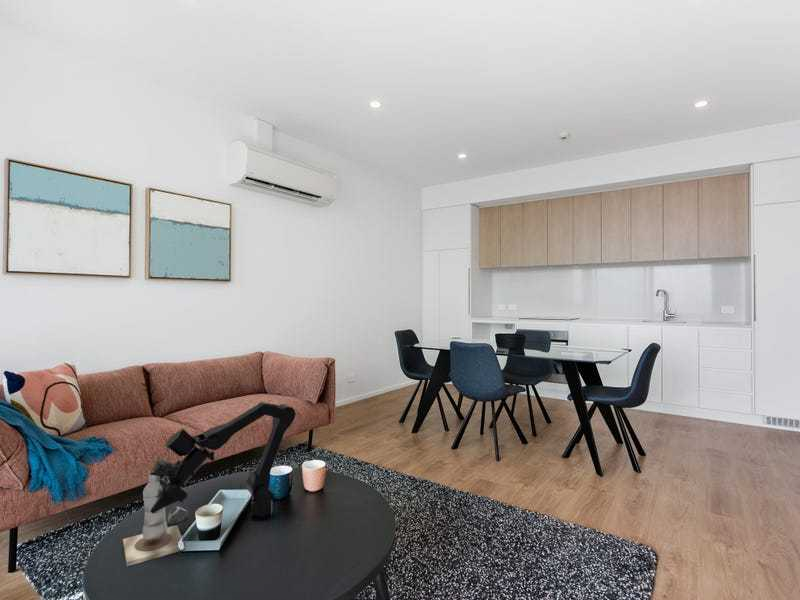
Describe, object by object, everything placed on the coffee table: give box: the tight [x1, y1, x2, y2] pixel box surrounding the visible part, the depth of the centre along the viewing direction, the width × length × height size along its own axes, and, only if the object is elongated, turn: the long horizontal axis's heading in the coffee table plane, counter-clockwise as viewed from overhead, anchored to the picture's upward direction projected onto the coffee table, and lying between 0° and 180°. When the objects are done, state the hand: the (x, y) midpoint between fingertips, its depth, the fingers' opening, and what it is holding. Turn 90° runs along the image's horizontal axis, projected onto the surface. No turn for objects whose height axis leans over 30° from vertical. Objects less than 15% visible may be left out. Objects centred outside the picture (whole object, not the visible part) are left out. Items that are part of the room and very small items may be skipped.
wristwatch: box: [167, 506, 188, 525], centre depth 145 cm, size 4×6×5 cm, turn 138°
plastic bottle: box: [141, 471, 168, 541], centre depth 130 cm, size 6×7×20 cm
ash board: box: [122, 524, 183, 567], centre depth 130 cm, size 15×15×1 cm
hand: (150, 508), depth 129 cm, fingers closed on plastic bottle, 6 cm apart
